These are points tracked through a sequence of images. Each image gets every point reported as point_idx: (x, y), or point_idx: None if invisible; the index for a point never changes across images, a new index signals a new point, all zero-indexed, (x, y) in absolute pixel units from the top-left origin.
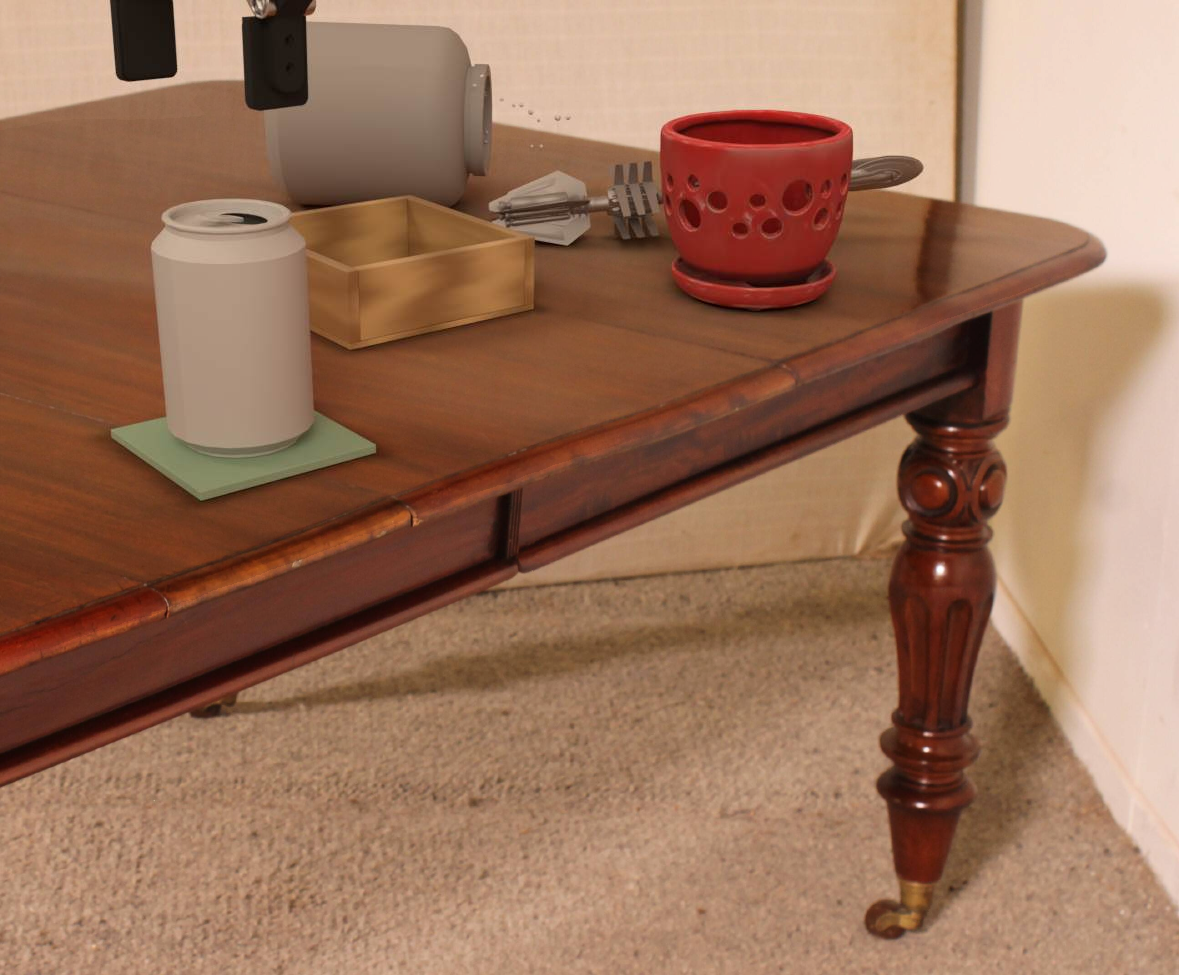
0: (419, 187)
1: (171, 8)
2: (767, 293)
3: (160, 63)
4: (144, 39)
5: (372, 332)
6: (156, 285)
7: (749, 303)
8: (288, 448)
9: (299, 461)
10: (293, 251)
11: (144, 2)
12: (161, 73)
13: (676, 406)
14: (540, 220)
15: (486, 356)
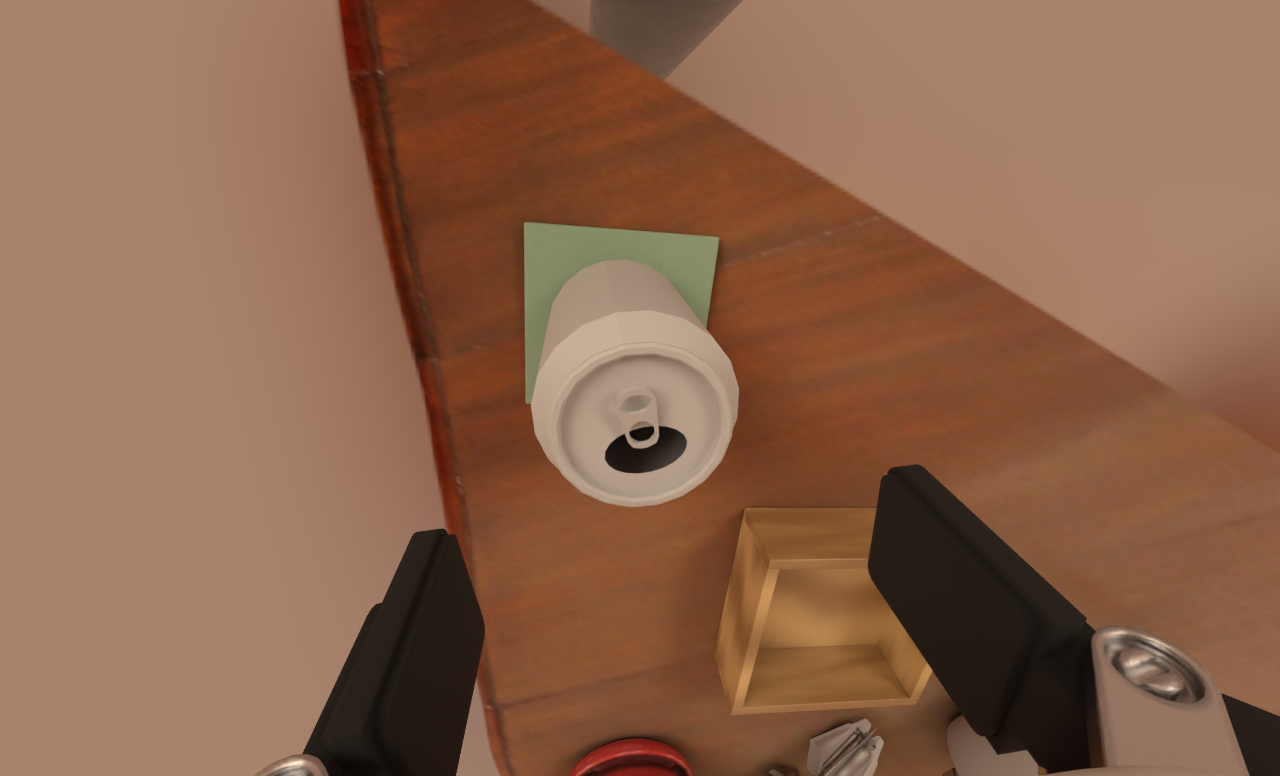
0: (968, 727)
1: (959, 704)
2: (578, 770)
3: (886, 561)
4: (926, 576)
5: (744, 534)
6: (662, 301)
7: (589, 754)
8: None
9: (532, 333)
10: (544, 451)
11: (996, 668)
12: (874, 546)
13: None
14: (838, 749)
15: (653, 575)
